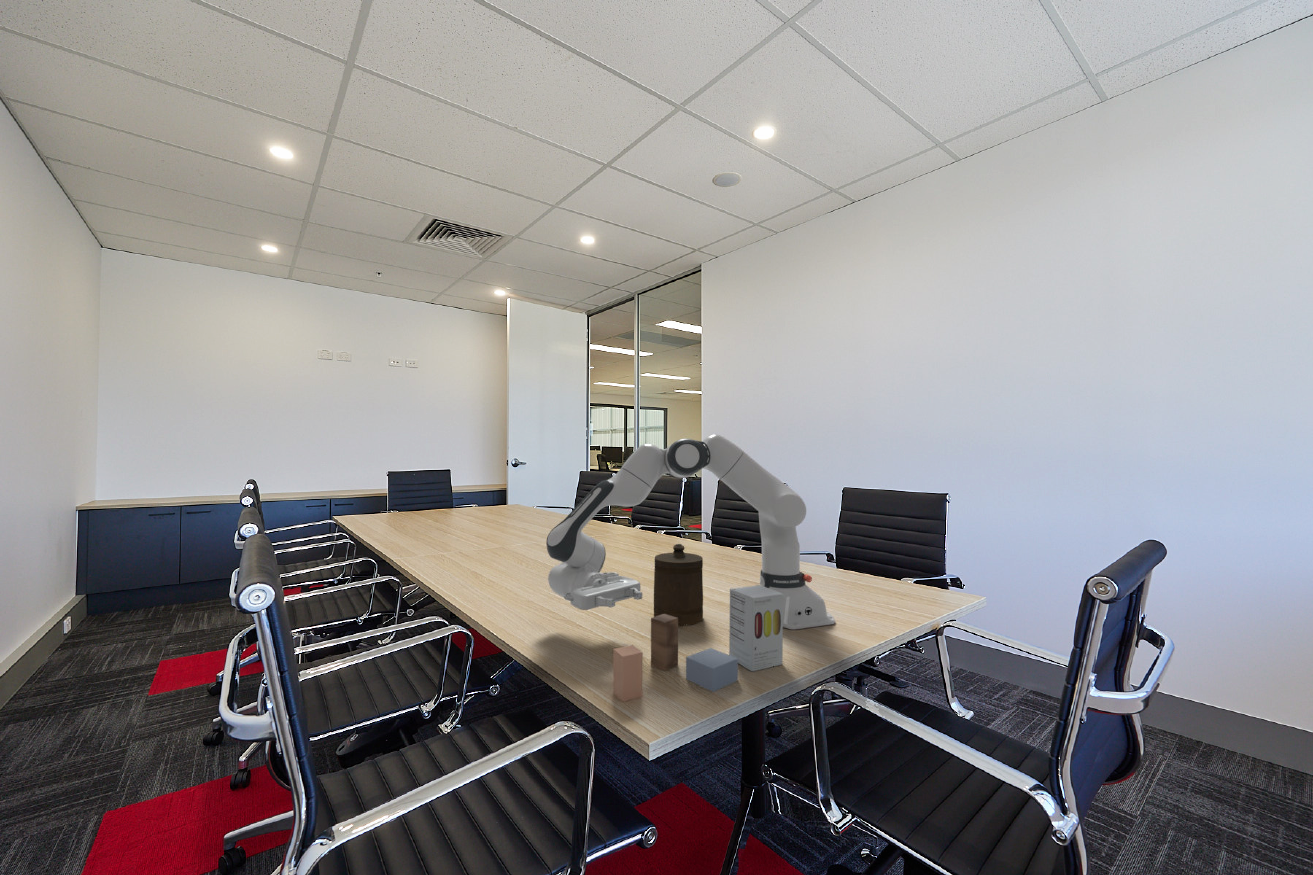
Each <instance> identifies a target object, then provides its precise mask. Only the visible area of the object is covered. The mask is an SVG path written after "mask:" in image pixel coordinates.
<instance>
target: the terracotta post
mask: <svg viewBox="0 0 1313 875" xmlns="http://www.w3.org/2000/svg"><path fill="white" fill-rule="evenodd" d="M612 657H613V662H612V664H613V667H612V668H613V671H612V672H613V674H612V677H613V680H612V683H613V684H612V685H613V686H612V687H613V688H612V689H613V690H612V691H613V692H612V693H613V694H614V696H616V697H617V698H618V699H619V700H620V701H621V702H627V701H631V700H634V699H639V698H642V697H643V662H644V661H643V659H644V658H643V651H641V650H640V649H639V648H637V647H636V646H634V645H633V644H631V645H627V646H621V647H617V648H613V655H612Z"/></svg>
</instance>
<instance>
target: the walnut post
mask: <svg viewBox="0 0 1313 875" xmlns="http://www.w3.org/2000/svg"><path fill="white" fill-rule="evenodd" d="M678 665H679V625H678V618H677V617H673V616H670V615H666V614H662V615H659V616H656V617H654V616H653V617H651V619H650V666H651V667H654V668H656V669H658V670H661V671H664V672H667V671H668V670H671V669H674V668H675V667H678Z"/></svg>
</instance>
